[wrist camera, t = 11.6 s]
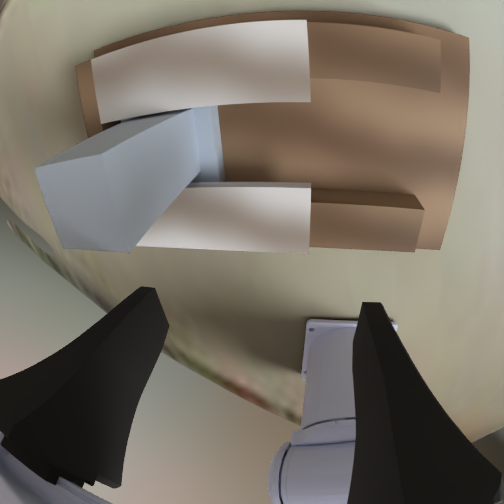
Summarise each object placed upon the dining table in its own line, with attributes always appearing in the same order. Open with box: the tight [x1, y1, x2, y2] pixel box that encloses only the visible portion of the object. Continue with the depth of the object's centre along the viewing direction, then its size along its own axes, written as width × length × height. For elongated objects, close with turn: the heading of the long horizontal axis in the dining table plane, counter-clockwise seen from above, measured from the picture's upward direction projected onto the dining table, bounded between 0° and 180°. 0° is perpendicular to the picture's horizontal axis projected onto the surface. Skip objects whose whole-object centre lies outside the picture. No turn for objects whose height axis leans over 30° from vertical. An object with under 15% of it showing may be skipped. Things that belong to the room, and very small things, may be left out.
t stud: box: [34, 105, 226, 253], centre depth 13 cm, size 6×6×9 cm
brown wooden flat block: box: [76, 11, 470, 254], centre depth 15 cm, size 14×22×4 cm, turn 94°
